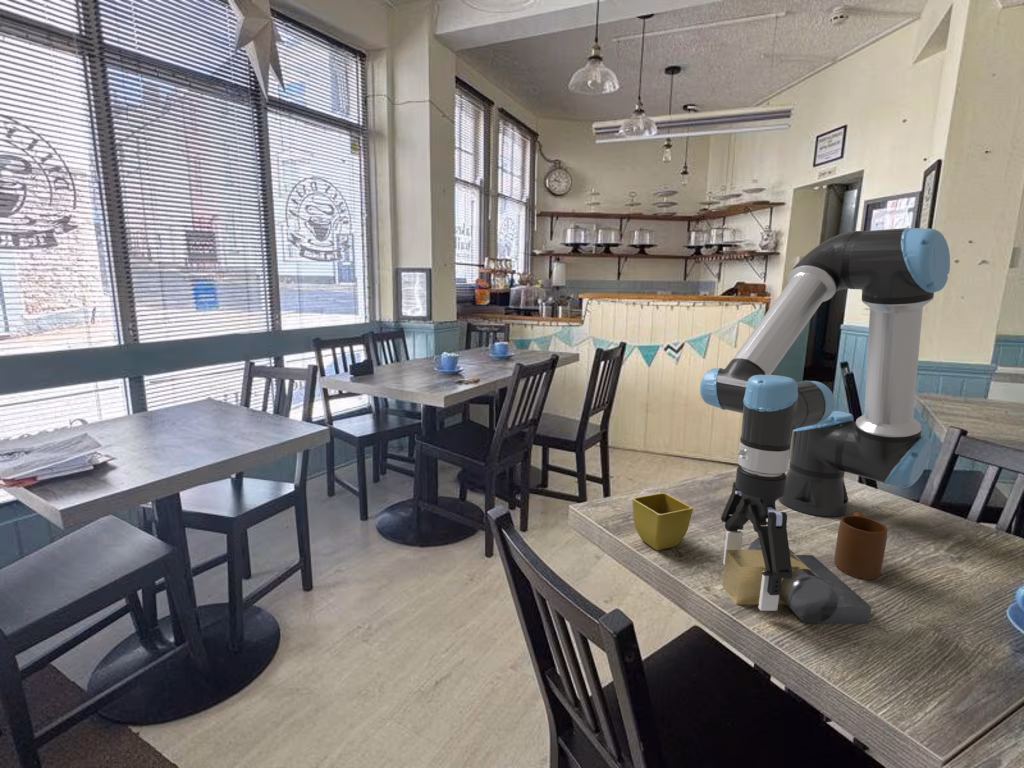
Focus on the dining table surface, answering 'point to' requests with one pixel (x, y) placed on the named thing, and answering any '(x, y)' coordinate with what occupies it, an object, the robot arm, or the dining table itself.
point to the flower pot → (661, 519)
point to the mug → (860, 546)
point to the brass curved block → (749, 575)
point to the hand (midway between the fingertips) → (748, 585)
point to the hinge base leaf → (820, 594)
